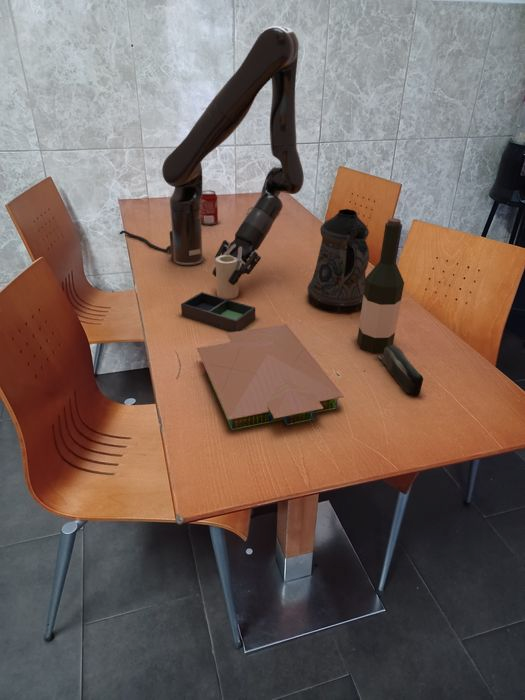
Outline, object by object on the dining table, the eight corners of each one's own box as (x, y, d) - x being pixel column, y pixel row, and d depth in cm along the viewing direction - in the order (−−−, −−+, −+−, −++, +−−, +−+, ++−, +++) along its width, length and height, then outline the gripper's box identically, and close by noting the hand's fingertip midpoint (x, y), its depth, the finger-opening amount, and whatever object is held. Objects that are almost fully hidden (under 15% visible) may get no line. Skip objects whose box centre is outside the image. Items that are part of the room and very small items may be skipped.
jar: (212, 295, 140) (211, 260, 135) (224, 287, 145) (224, 253, 139) (230, 300, 137) (230, 264, 132) (242, 292, 142) (242, 257, 136)
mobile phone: (427, 376, 99) (390, 337, 111) (413, 378, 98) (378, 339, 111) (421, 396, 102) (387, 356, 114) (408, 398, 101) (375, 358, 113)
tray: (181, 315, 129) (180, 303, 128) (202, 303, 136) (201, 291, 134) (236, 333, 122) (236, 321, 120) (255, 319, 128) (255, 307, 127)
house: (232, 443, 88) (232, 407, 84) (192, 350, 115) (190, 319, 111) (348, 418, 95) (353, 383, 91) (285, 335, 121) (287, 305, 117)
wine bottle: (371, 357, 114) (392, 228, 98) (349, 340, 120) (365, 217, 105) (399, 349, 117) (424, 223, 102) (377, 333, 124) (396, 212, 108)
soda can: (215, 226, 193) (214, 194, 187) (198, 224, 194) (197, 193, 188) (219, 221, 199) (219, 190, 192) (203, 219, 200) (202, 189, 193)
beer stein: (332, 283, 149) (340, 198, 136) (387, 304, 137) (402, 214, 124) (294, 299, 139) (300, 209, 126) (351, 324, 127) (363, 228, 114)
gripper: (230, 215, 140) (198, 265, 139) (266, 227, 131) (232, 281, 130) (244, 230, 146) (213, 278, 145) (279, 242, 137) (247, 294, 136)
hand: (222, 279), depth 137 cm, fingers closed on jar, 6 cm apart
